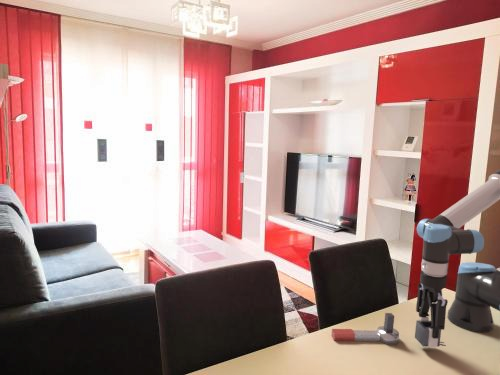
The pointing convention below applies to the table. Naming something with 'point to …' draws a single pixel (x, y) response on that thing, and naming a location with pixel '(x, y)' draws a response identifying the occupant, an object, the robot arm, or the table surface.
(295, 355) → the table surface
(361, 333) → the ratchet
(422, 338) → the socket
